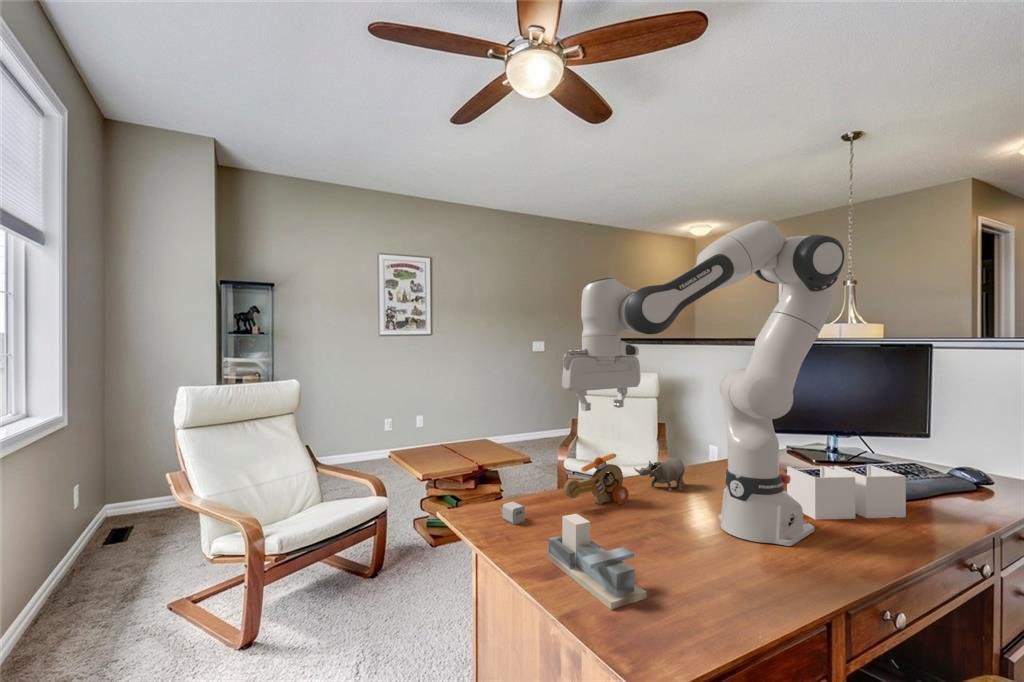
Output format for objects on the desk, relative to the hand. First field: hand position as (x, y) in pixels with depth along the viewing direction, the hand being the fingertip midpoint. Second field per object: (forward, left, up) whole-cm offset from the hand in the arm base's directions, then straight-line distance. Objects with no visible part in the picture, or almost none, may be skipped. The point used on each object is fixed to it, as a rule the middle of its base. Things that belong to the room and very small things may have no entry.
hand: (602, 408), depth 107 cm
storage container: (-71, +14, -31) cm, 79 cm away
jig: (+12, +12, -30) cm, 35 cm away
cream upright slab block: (+12, +6, -29) cm, 32 cm away
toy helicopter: (-14, -20, -31) cm, 39 cm away
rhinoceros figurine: (-42, -23, -31) cm, 57 cm away
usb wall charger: (+13, -21, -31) cm, 40 cm away
